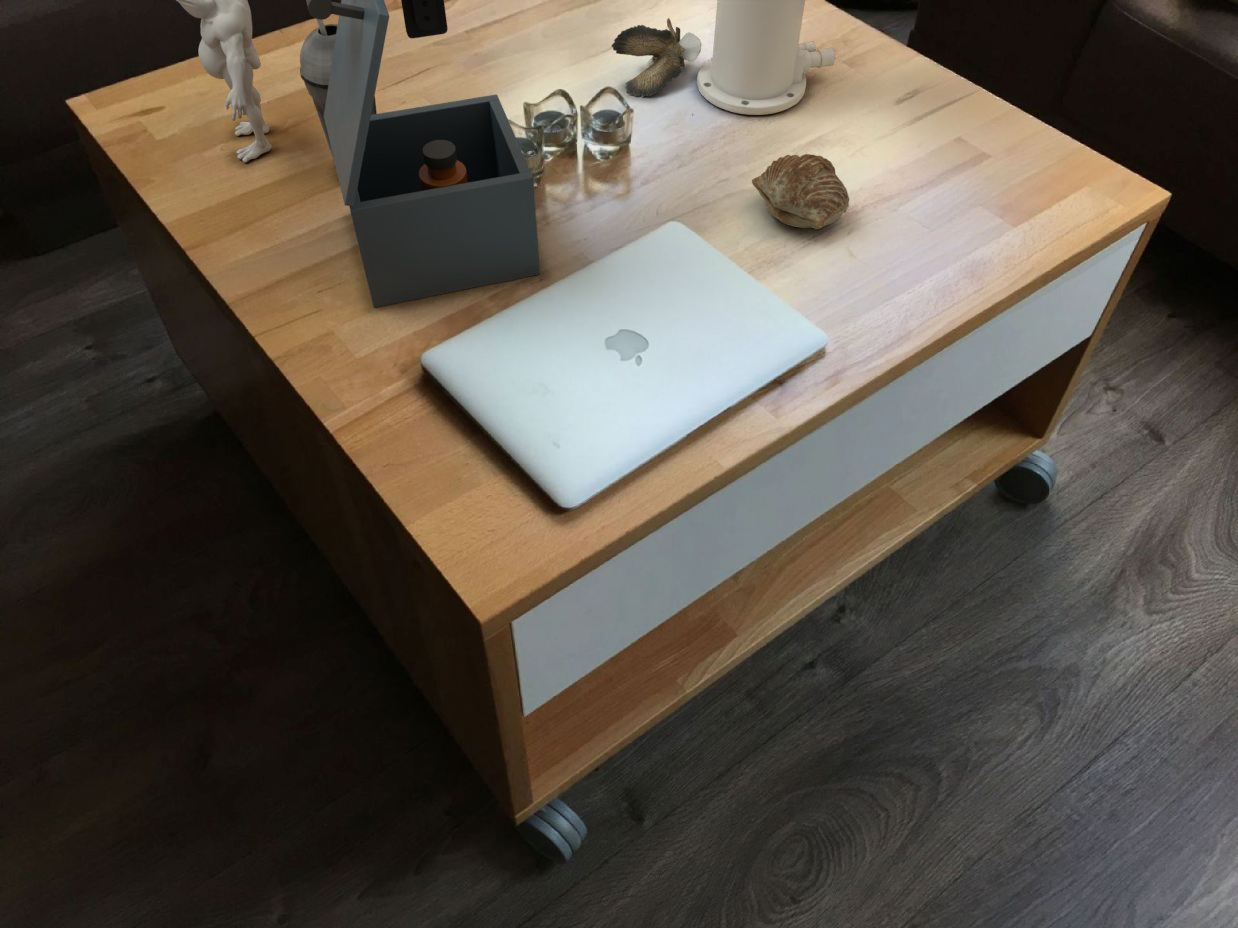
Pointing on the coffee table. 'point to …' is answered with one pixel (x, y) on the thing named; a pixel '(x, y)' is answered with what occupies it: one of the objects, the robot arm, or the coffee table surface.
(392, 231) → the chest
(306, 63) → the beverage cup
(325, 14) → the lid
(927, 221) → the coffee table surface
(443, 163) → the spice bottle
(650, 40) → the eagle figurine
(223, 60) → the figurine
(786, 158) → the seashell
